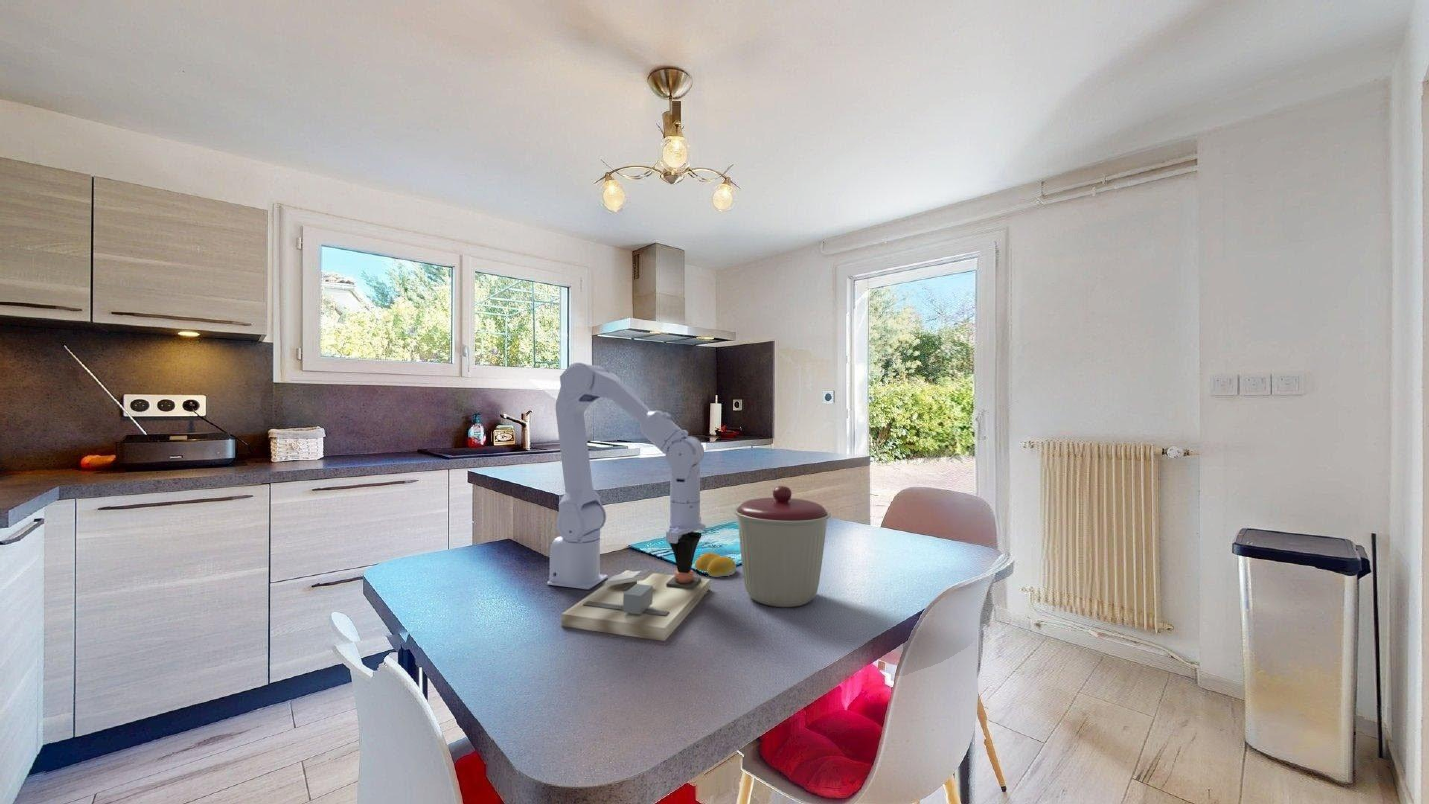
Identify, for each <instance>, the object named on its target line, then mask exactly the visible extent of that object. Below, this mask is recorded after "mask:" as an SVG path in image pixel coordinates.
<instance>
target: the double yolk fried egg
mask: <svg viewBox="0 0 1429 804" xmlns="http://www.w3.org/2000/svg"><path fill="white" fill-rule="evenodd" d="M695 568H697V569H698V570H701V571H707V573H708V574H709V575H711V576H714V577H718V576H728V575H732V574H733V575H734V574H735V573H736V572H737V571H736V570H737V564H736V562H735V560H733V559H732V557H731V558H730V557H727V556H721V555H719V554H717V553H716V552H705V553H703V554H702V555H700V556H699V557H698V558H697V559H696V560H695V562H694V569H695ZM733 575H732V576H733ZM728 577H729V576H728Z"/></svg>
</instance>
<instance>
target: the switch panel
mask: <svg viewBox="0 0 1429 804" xmlns="http://www.w3.org/2000/svg"><path fill="white" fill-rule="evenodd" d="M631 572H637V570H627V569H626V570H624V571H623V572H622V573H620V574H625V573H631ZM636 584H642V585H650V586H653V597H652V604H651V605H650V606H649V607H648V608H647V609H646V610H645V611H644V612H643V613H641V614H632V613H625V612H623V594H624V593H625V592H626V591H628V590H629V589H630V588H632V587H633V586H634V585H636ZM709 589H710V590H711V579H709V578H702V577H697V576H693V581H692V582H689V583H679V582H676V581H675V574H665V573H664V574H663V573H656V572H655V573H654V572H653V574H652V575H650V576H649V577H648V578H646V579H645V580H641V581H635V582H628V583H622V584H615V585H609V586H606V585H605V584H603V585H602V586H600V587H599V588H598V589H596V590H595V591H593V592H592V593H590V594H589V595H587V596H586V597H584V598H583V599H581V600H579V601H578V602H577V603H576V604H574V605H573V606H571V607H570V608H568V609H566V610H565V611H564V612H562V613H561V623H560V624H561V627H566V628H573V629H579V630H586V631H593V632H599V633H600V632H601V633H607V634H613V635H620V636H628V637H632V638H633V637H634V638H641V639H648V640H655V641H662V642H665V641H667V640H668V638H669V637H670V636H671V635H672V634H673V632H674V631H675V630H677V628H678V627H679V626H680V624H681V623H682V622H683V621H684V620H685V619H686V617H687V616H688V615H689V614H690V613H691V612H692V611H693V609H695V607H696V606H697V605H698V604H699V602H700V601H701V600H702V599H703V598H704V597H705V596H706V595H707V594H708V592H709V591H710V590H709ZM708 590H709V591H708ZM707 591H708V592H707ZM705 594H706V595H705ZM704 595H705V596H704ZM702 597H703V598H702Z"/></svg>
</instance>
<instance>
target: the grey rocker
mask: <svg viewBox="0 0 1429 804" xmlns="http://www.w3.org/2000/svg"><path fill="white" fill-rule="evenodd" d="M636 571H637V570H636ZM653 573H654V571H653V568H648V569H642V570H638V571H637V572H631V573H625V574H621V573H619V574H614V575H612V576H610V577H609V578H607V579H606V580H605V581H604V583H605V584H604V585H606V586H609V585H615V584H622V583H628V582H635V581H641V580H645V579H646V578H648V577H649V576H650V575H652V574H653Z"/></svg>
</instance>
